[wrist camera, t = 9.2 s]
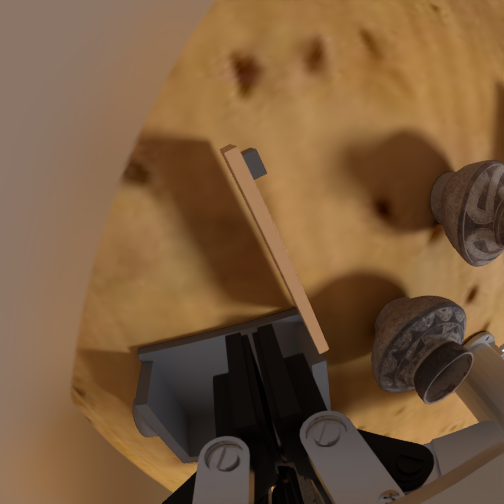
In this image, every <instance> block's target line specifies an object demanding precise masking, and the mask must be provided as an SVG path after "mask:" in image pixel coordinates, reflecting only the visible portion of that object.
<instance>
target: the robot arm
mask: <svg viewBox="0 0 504 504" xmlns="http://www.w3.org/2000/svg"><path fill="white" fill-rule="evenodd" d="M252 336H253V341H254V345H255V350H256V354H257V358H258V363H259V367H260V371H261V375H260V372H259V369H258V366H257V363H256V360H255V357H254V354H253V351H252V348H251V345H250V341H249V338H248V335H247V334H246V335H241V333H240V332H238V333H234V334H230V335H226V336H225V343H226V352H227V362H228V373H224V374H219V375H215V376H213V396H214V413H215V428H216V439H214V440H211V441H210V442H209V443H207V444H206V445H205V446H204V447H203V449H202V450H201V452H200V455H199V460H198V467H197V471H196V472H195V473H194V474H193V475H192V476H191V477H190V478H189V479H188V480H187V481H186V482H185V483H184V484H183V485H182V486H180V487H179V488H178V489H177V490H176V491H175V492H174V493H173V494H172V495H171V496H170V497H168V498H167V500H165V501H164V502H163V503H162V504H272V491H271V487H272V486H273V485H274V483H275V482H276V481H277V480H278V477H277V474H279V472H278V467H277V466H280V465H283V462H282V458H281V454H280V450H279V446H278V442H277V438H276V433H275V429H276V432H277V435H278V438H279V440H280V443H281V446H282V448H283V451H284V454H285V457H286V459H287V462H288V463H292V462H294V464H295V467H296V470H297V473H298V475H301V476H303V477H306V478H308V479H311V482H312V484H313V485H314V487H315V489H316V491H317V493H318V495H319V497H320V498H321V500H322V502H323V504H504V344H503V345H501V346H500V347H498V346H496V345H495V339H494V336H493V335H492V334H491V333H490V332H487V331H486V332H481V333H479V334H477V335H476V336H474V337H473V338H471V339H470V340H469V341H468V342H467V343H465V344H464V345H463V346H464V347H465V348H467V349H468V350H469V351H470V352H471V353H472V354H473V357H474V360H473V364H472V367H471V369H470V371H469V373H468V374H467V376H466V378H465V379H464V380H463V382H462V383H461V384H460V385H459V386H458V388H457V389H455V390H454V391H453V392H452V393H454V392H456V394H457V395H458V396H459V397H460V398H461V400H462V401H463V402H464V403H465V405H466V406H467V407H468V408H469V410H470V411H471V412H472V414H473V415H474V416H475V417H476V419H477V420H478V421H479V423H477V424H474V425H472V426H469V427H467V428H464V429H462V430H459V431H456V432H453V433H451V434H448V435H445V436H442V437H439V438H436V439H433V440H432V441H431V442H430V443H427V444H424V445H420V444H418V443H413V442H408V441H403V440H399V439H394V438H390V437H386V436H382V435H378V434H374V433H370V432H366V431H363V430H359V429H356V428H355V426H354V425H353V424H352V422H351V421H350V419H348V418H347V417H346V416H345V415H344V414H342V413H340V412H336V411H328V410H327V408H326V405H325V403H324V400H323V398H322V396H321V393H320V391H319V389H318V386H317V384H316V381H315V379H314V377H313V374H312V372H311V370H310V367H309V365H308V363H307V360H306V358H305V356H304V354H303V352H302V353H299V354H296V355H292V356H289V357H286V358H283V356H282V353H281V350H280V347H279V344H278V341H277V338H276V335H275V332H274V329H273V326H272V323H271V324H267V325H264V326H260V327H257V332H254V333H252ZM261 376H262V378H261ZM262 380H263V381H262ZM263 384H264V385H263ZM273 424H274V425H273ZM274 427H275V429H274Z"/></svg>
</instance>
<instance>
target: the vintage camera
mask: <svg viewBox="0 0 504 504" xmlns="http://www.w3.org/2000/svg"><path fill="white" fill-rule="evenodd" d="M279 450H280V454H281V458H282V462H283V465H280V466H277V467H278V472H279V474H277V477H278V480H277V481H276V482H275V483H274V485H273V487H275V488H274V489H273V492H272V504H323V502H322V500H321V498H320V497H319V495H318V493H317V491H316V489H315V487H314V485H313V484H312V482H311V479H308V478H306V477H303V476H301V475H298V473H297V470H296V467H295V464H294V462H292V463H288V462H287V459H286V457H285V454H284V451H283V448H282V446H281V445H280V446H279Z"/></svg>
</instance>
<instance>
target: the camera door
mask: <svg viewBox="0 0 504 504" xmlns="http://www.w3.org/2000/svg"><path fill="white" fill-rule="evenodd" d="M220 151H221V153H222V155H223V157H224V159H225V161H226V163H227V165H228V167H229V169H230V171H231V173H232V175H233V177H234V180H235V182H236V184H237V186H238V188H239V190H240V192H241V194H242V196H243V198H244V200H245V202H246V204H247V206H248V208H249V210H250V212H251V214H252V216H253V218H254V220H255V222H256V224H257V226H258V229H259V231H260V233H261V235H262V237H263V239H264V241H265V243H266V245H267V247H268V249H269V251H270V253H271V255H272V258H273V260H274V262H275V264H276V266H277V268H278V270H279V272H280V274H281V276H282V278H283V281H284V283H285V285H286V287H287V289H288V291H289V293H290V295H291V297H292V300H293V302H294V304H295V306H296V308H297V310H298V312H299V314H300V317H301V319H302V320H303V322H304V324H305V326H306V328H307V330H308V332H309V334H310V336H311V338H312V340H313V342H314V344H315V346H316V348H317V350H318V352H319V354H321V353H323V352H325V351H327V350H329V348H328V345H327V343H326V340H325V338H324V336H323V333H322V331H321V328H320V326H319V324H318V321H317V319H316V317H315V314H314V312H313V310H312V307H311V305H310V303H309V300H308V298H307V296H306V294H305V291H304V289H303V287H302V284H301V282H300V280H299V278H298V275H297V273H296V271H295V269H294V266H293V264H292V262H291V260H290V257H289V255H288V253H287V251H286V248H285V246H284V244H283V242H282V240H281V237H280V235H279V233H278V231H277V229H276V226H275V224H274V222H273V220H272V218H271V216H270V213H269V211H268V209H267V207H266V205H265V203H264V201H263V198H262V196H261V194H260V192H259V190H258V188H257V186H256V184H255V181H254V180H255V179H257V178H259V177H261V176H263V175H265V174H267V172H266V169H265V167H264V165H263V163H262V161H261V159H260V156H259V154H258V152H257V150H256V149H254V148H248V149H246V150H244V151H242V152H240V150H239V148H238V146H234V145H231V144H229V145H227V146H225V147H223V148H221V149H220Z"/></svg>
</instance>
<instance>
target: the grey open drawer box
mask: <svg viewBox="0 0 504 504" xmlns="http://www.w3.org/2000/svg"><path fill="white" fill-rule="evenodd" d="M271 323H272V326H273V329H274V332H275V335H276V338H277V341H278V344H279V347H280V350H281V353H282V356H283V358H286V357H289V356H292V355H296V354H299V353H302V352H303V354H304V356H305V358H306V360H307V363H308V365H309V367H310V370H311V372H312V374H313V377H314V379H315V381H316V384H317V386H318V389H319V391H320V393H321V396H322V398H323V400H324V403H325V405H326V408H327V410H328V411H331V406H330V394H329V383H328V372H327V363H326V359H325V357H324V355H323V353H321V354H319V352H318V350H317V348H316V346H315V344H314V342H313V340H312V338H311V336H310V334H309V332H308V330H307V328H306V326H305V324H304V322H303V320H302V319H301V317H300V314H299V312H298V310H297V308H294V309H291V310H287V311H284V312H281V313H277V314H274V315H270V316H267V317H263V318H260V319H256V320H253V321H249V322H245V323H242V324H238V325H234V326H231V327H227V328H223V329H219V330H215V331H211V332H207V333H203V334H199V335H195V336H191V337H187V338H183V339H178V340H174V341H170V342H165V343H161V344H156V345H152V346H147V347H142V348H139V349H138V354H137V355H138V357H139V359H140V360H141V362H142V366H141V371H140V376H139V382H138V387H137V393H136V398H135V399H134V402H133V417H134V421H135V424H136V426H137V428H138V430H139V432H140V433H141V434H142V435H143V436H145V437H154V436H159V437H160V438H161V439H162V440H163V441H164V442H165V443H166V445H167V446H168V447H169V448H170V449H171V450H172V451H173V452H174V453H175V454H176V456H177V457H178V458H179V459H180V460H181V461H182V462H183V463H190V462H198V460H199V455H200V452H201V450H202V449H203V447H204V446H205V445H206V444H207V443H209V442H210V441H211V440H214V439H216V428H215V413H214V396H213V376H215V375H219V374H224V373H228V362H227V352H226V343H225V336H226V335H230V334H234V333H238V332H240V333H241V335H246V334H247V335H248V338H249V341H250V345H251V348H252V351H253V354H254V357H255V360H256V363H257V366H258V369H259V372H260V375H261V371H260V367H259V363H258V358H257V354H256V350H255V345H254V341H253V336H252V333H254V332H257V327H260V326H264V325H267V324H271ZM261 378H262V376H261ZM262 381H263V380H262ZM263 385H264V384H263ZM273 425H274V424H273ZM274 429H275V427H274ZM275 433H276V438H277V442H278V445H281V443H280V440H279V438H278V435H277V432H276V429H275Z"/></svg>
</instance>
